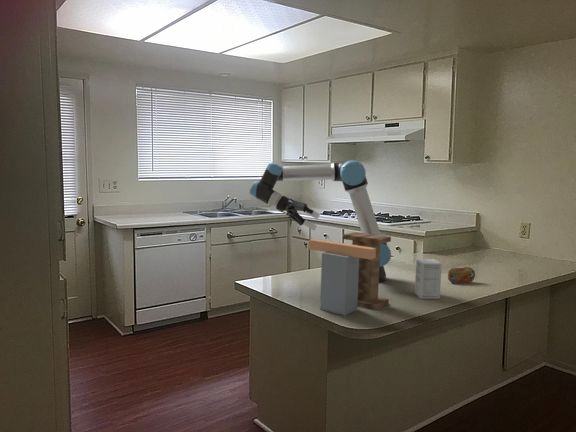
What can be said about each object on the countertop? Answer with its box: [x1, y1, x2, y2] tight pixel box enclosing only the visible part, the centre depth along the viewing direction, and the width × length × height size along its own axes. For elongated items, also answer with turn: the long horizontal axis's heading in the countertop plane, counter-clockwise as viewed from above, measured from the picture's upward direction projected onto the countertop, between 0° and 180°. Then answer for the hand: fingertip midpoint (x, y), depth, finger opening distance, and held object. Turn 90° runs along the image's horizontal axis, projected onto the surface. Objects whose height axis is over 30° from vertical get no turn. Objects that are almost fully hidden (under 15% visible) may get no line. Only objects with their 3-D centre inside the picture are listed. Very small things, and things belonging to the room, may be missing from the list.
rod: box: [308, 238, 376, 260], centre depth 200 cm, size 30×4×4 cm, turn 52°
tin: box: [447, 266, 476, 285], centre depth 252 cm, size 15×3×8 cm, turn 105°
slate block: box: [319, 252, 359, 316], centre depth 202 cm, size 12×10×24 cm
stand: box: [342, 231, 392, 311], centre depth 212 cm, size 18×12×30 cm, turn 52°
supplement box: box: [414, 258, 443, 300], centre depth 225 cm, size 10×9×17 cm
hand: (317, 222), depth 233 cm, fingers open, 13 cm apart
